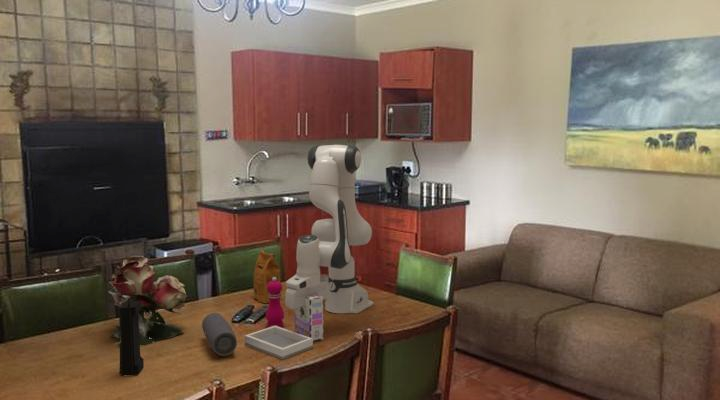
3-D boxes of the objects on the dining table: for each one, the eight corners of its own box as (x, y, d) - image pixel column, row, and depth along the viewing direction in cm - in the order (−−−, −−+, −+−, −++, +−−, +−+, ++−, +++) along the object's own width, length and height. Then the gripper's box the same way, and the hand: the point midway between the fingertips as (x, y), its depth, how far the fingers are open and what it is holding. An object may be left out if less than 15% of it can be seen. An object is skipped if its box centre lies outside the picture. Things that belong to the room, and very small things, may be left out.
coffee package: (270, 294, 284) (269, 248, 281) (283, 301, 274) (282, 253, 271) (250, 298, 279) (249, 250, 276) (263, 305, 269) (262, 255, 266)
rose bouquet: (197, 330, 236) (194, 254, 232) (124, 351, 215) (120, 268, 211) (162, 316, 253) (159, 244, 249) (92, 334, 232) (87, 256, 228)
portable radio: (126, 366, 202) (122, 292, 199) (144, 365, 203) (141, 292, 199) (118, 376, 194) (114, 300, 191) (138, 375, 195) (134, 299, 192)
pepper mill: (280, 330, 237) (280, 279, 234) (263, 328, 238) (262, 278, 236) (286, 324, 244) (286, 275, 241) (269, 322, 245) (268, 274, 243)
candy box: (324, 339, 227) (324, 296, 225) (309, 342, 224) (309, 299, 222) (307, 328, 239) (307, 287, 237) (294, 331, 236) (293, 289, 234)
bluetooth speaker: (200, 338, 228) (199, 312, 226) (225, 335, 231) (225, 309, 230) (211, 361, 207) (210, 332, 206) (238, 357, 211) (238, 329, 209)
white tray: (275, 334, 232) (275, 325, 232) (312, 347, 219) (312, 338, 219) (244, 344, 222) (244, 335, 221) (282, 359, 208) (282, 349, 208)
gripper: (322, 272, 238) (322, 306, 240) (282, 282, 223) (282, 319, 225) (333, 275, 234) (333, 310, 236) (294, 286, 219) (294, 323, 221)
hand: (308, 314), depth 230 cm, fingers open, 8 cm apart
